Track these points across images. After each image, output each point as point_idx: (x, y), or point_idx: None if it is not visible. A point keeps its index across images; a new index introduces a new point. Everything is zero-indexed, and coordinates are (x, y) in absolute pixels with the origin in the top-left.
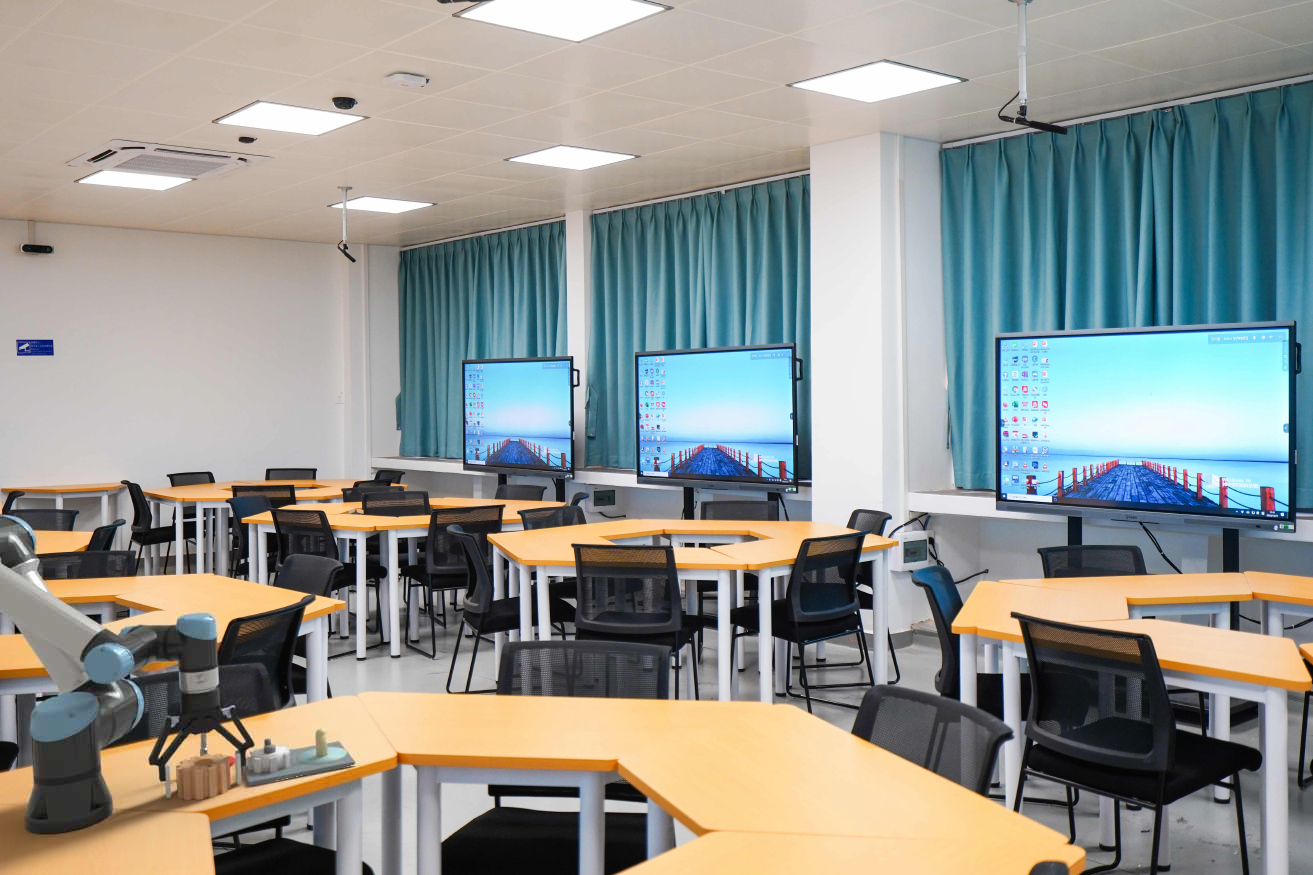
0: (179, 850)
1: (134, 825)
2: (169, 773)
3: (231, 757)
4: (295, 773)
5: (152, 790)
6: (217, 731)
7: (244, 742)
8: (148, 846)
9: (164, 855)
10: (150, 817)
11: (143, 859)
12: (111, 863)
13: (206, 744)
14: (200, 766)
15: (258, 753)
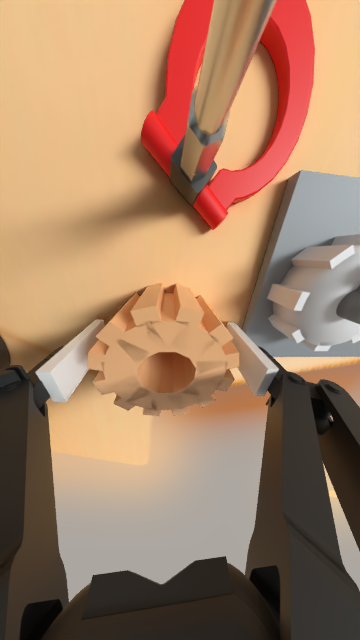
0: (131, 451)
1: (71, 401)
2: (80, 381)
3: (304, 86)
4: (307, 356)
5: (57, 266)
6: (248, 563)
7: (313, 397)
8: (101, 441)
9: (118, 453)
10: (88, 388)
11: (101, 454)
12: (73, 453)
13: (233, 100)
14: (157, 396)
15: (327, 297)
